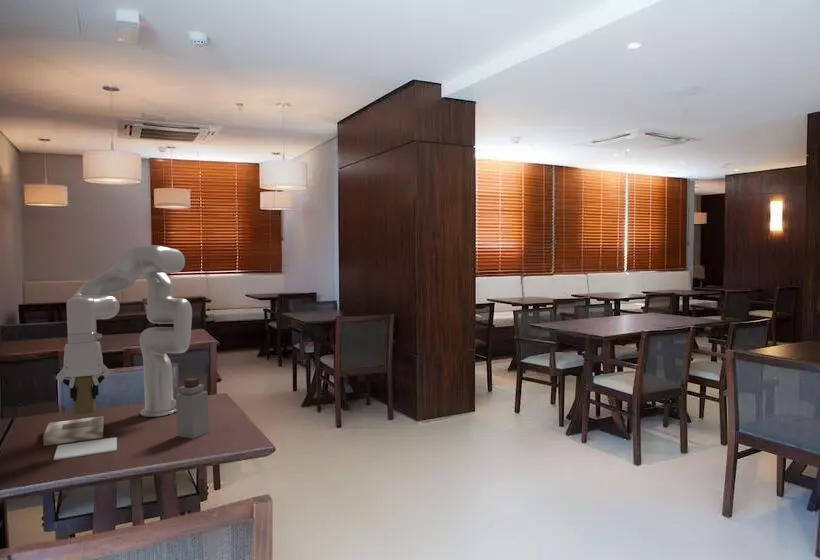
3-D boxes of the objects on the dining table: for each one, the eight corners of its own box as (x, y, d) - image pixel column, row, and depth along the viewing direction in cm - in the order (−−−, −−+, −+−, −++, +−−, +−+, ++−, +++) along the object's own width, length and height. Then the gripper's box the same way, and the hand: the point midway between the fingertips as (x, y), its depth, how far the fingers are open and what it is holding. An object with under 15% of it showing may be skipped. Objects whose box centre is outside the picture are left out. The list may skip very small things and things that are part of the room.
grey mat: (116, 438, 182) (116, 437, 182) (116, 450, 170) (116, 449, 170) (57, 446, 175) (57, 445, 175) (53, 460, 163) (53, 458, 163)
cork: (100, 408, 175) (99, 373, 174) (87, 414, 169) (86, 377, 168) (82, 408, 175) (81, 372, 175) (68, 413, 169) (67, 377, 169)
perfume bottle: (208, 432, 187) (207, 377, 186) (192, 438, 181) (191, 382, 180) (193, 430, 190) (191, 376, 189) (177, 436, 184) (175, 380, 183)
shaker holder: (103, 424, 197) (103, 416, 197) (102, 437, 183) (102, 428, 183) (49, 431, 190) (48, 422, 190) (43, 445, 176) (43, 436, 176)
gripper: (114, 335, 178) (116, 393, 179) (50, 339, 170) (53, 400, 171) (114, 338, 171) (116, 398, 172) (47, 342, 164) (50, 405, 165)
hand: (84, 398), depth 172 cm, fingers closed on cork, 4 cm apart
